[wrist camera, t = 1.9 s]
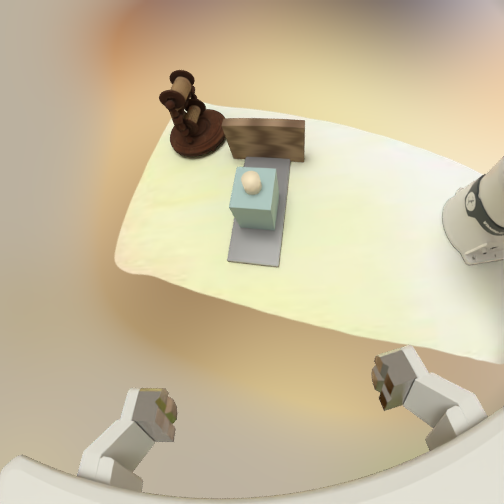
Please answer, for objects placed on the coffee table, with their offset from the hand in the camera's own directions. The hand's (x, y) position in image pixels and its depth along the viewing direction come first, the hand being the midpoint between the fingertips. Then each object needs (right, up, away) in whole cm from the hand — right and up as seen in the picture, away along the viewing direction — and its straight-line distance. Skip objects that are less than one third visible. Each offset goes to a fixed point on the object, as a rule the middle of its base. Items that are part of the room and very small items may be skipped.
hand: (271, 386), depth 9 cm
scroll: (-14, +34, +56) cm, 67 cm away
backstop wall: (+3, +27, +51) cm, 57 cm away
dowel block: (+1, +13, +47) cm, 49 cm away
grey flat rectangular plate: (+1, +14, +48) cm, 50 cm away
